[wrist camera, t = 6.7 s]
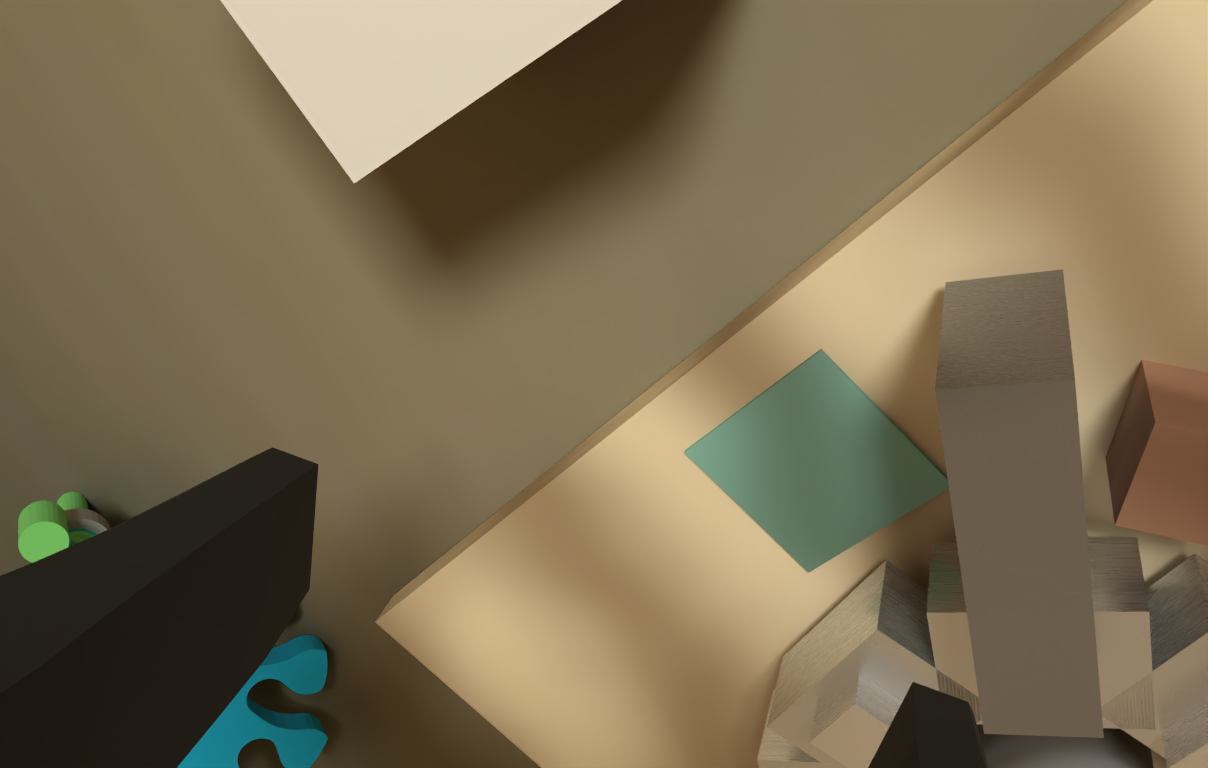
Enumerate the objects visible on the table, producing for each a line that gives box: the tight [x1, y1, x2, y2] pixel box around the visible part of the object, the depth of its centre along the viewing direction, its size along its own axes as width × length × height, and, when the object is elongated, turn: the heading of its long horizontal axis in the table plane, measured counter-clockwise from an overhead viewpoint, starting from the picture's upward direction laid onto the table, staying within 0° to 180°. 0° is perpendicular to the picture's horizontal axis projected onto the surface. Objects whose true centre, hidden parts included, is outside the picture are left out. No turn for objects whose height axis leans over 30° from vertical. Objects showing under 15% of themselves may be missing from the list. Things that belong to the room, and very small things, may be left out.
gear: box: [18, 492, 328, 768], centre depth 30 cm, size 11×6×10 cm
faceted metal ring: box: [757, 269, 1208, 768], centre depth 20 cm, size 16×11×4 cm
